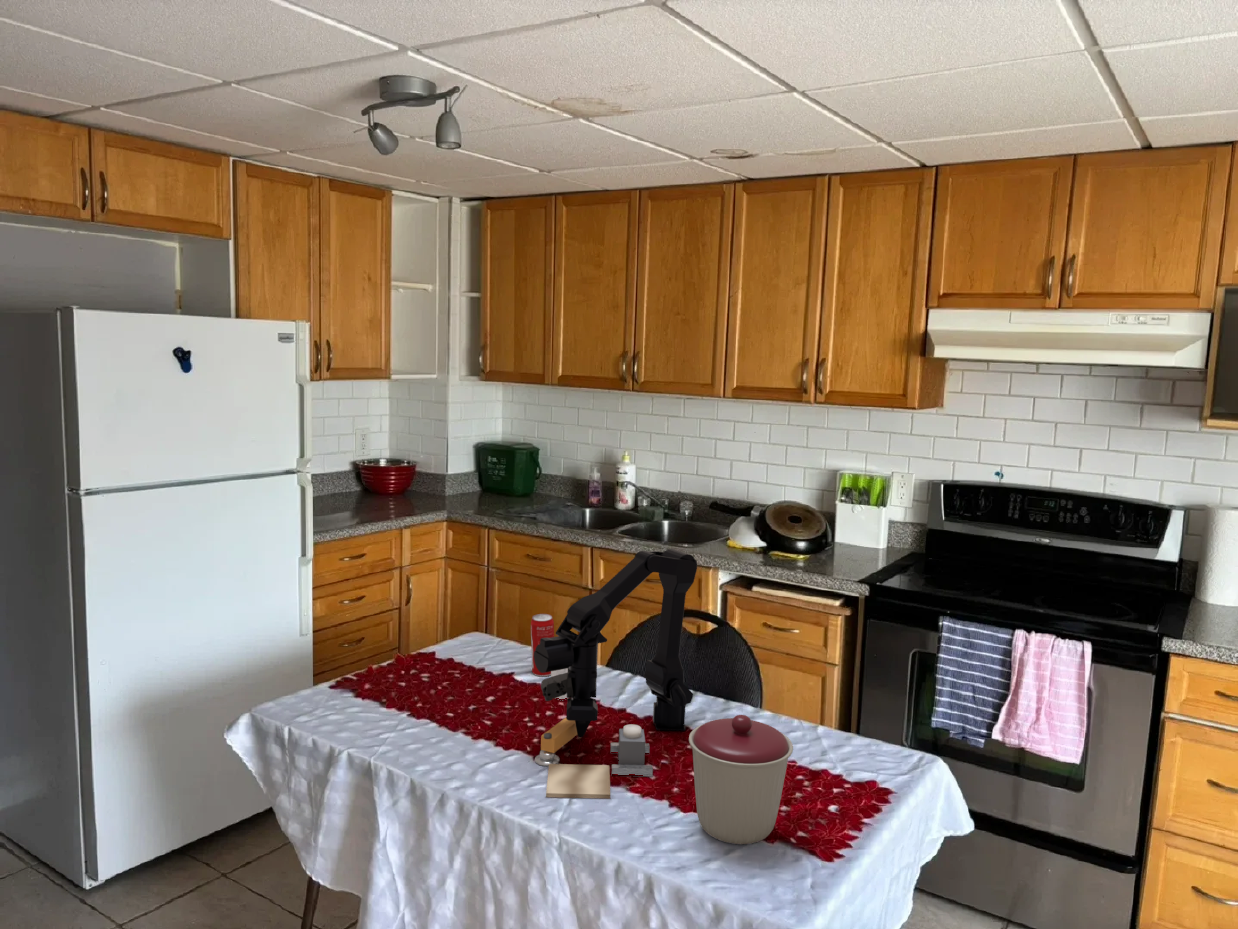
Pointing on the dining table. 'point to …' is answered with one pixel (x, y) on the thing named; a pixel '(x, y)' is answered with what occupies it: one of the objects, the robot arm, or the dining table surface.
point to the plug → (631, 745)
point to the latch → (558, 735)
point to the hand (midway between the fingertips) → (580, 736)
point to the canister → (738, 777)
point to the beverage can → (540, 636)
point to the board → (578, 781)
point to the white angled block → (557, 672)
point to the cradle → (645, 770)
